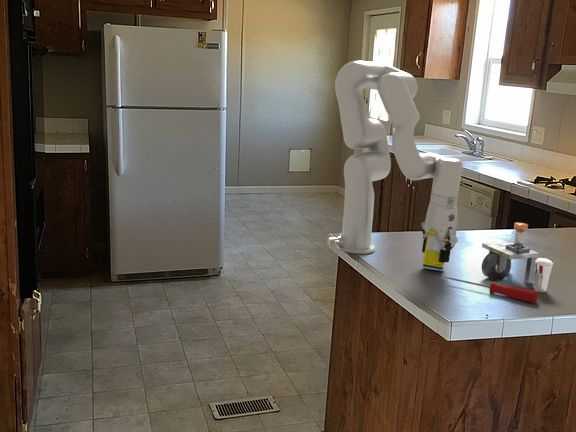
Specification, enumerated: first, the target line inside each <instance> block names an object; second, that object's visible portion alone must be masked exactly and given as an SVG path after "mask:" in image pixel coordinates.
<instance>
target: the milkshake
mask: <svg viewBox="0 0 576 432" xmlns="http://www.w3.org/2000/svg"><path fill="white" fill-rule="evenodd" d="M555 262H556V260H554V261H553V262H552V260H550V259H548V258H546V257H545V258H543V257H537V258H536V261H535V269H534V276H533V286H532V288H533V289H532V290H536V291H537V292H538V293H539V292H540V293H545V292H547V289H548V285H549V284H548V283H549V281H550V275H551V273H552V269H553V266H554V263H555Z"/></svg>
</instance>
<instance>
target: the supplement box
mask: <svg viewBox="0 0 576 432" xmlns="http://www.w3.org/2000/svg"><path fill="white" fill-rule="evenodd" d="M444 239H448V234H447V235H446V237H444ZM446 244H447V241H445V245H446ZM440 249H442V246H441V241H440V240H438V239H437V236H436V233H435V232H434V231H432V230H430V229H429V230H428V233H427V240H426V247H425V253H424V254H423V255H424V256H423V262H422V267H423V268H431V269H437V270H444V267H445V263H440V262H439V255H440Z"/></svg>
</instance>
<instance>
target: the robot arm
mask: <svg viewBox="0 0 576 432" xmlns="http://www.w3.org/2000/svg"><path fill="white" fill-rule="evenodd" d="M334 88H335V89H334V90H335V95H336V99H337V103H338V107H339V108H338V109H339V116H340V122H341V123H340V124H341V129H342V136H343V141H344V143H345V145H346V147H348V148H350V149H352V150H363V152H359V153H354V154H352V155H350V156H349V157H348V158H347V159H346V161H345V163H344V166H343V177H344V178H343V179H344V186H345V187H344V199H343V200H344V203H343V204H344V205H343V215H342V217H343V218H342V231H341V233H339V235H338V236H336V237H328V238H327V242H328V244H330V245H331V244H334V245H336V249H338V251H341V252H344V253H347V254H355V255H367V254H371V253H374V252H375V249H376V247H375V245H374V244H373V243H371V242H372V230H373V219H374V206H375V191H374V186H373V182H376V181H380V180H382V179H385V178H386V177H388V175H389V174H390V171H391V167H392V166H391V165H392V160H391V154H390V146H389V140H388V133H387V131H386V128H385V126H384V124H383V123H382V122H381V121H380V120H378V119H376V118H369V116H368V115H369V114H368V111H367V103H366V101H365V99H364V97H363V94H362V93H361V90H376V91H377V93H378V95H379V98H380V100H381V103H382V104H383V107H384V109H385V111H386V114H387V117H388V119H389V122H390V124H391V126H392V133H391V134H392V135H391V136H392V137H391V140H392V141H391V142H392V143H391V145H392V153H393V154H394V158H395V160H396V163H397V165H398V167H399V169H400V171H401V173H402V174H403V175H404V177H406V178H407V179H408V180H411V181H420V180H424V179H433V180H432V185H431V194H430V200H429V204H428V207H427V211H426V215H425V220H424V221H423V222H421V228H422V231H421V233H422V234H423V235H422V239H423V241H422V242H423V243H422V248H421V252H422V253H424V254H425V247H426V240H427V233H428V230H429V229H430V230H432V231H434V232H435V233H436V236H437V239H438V240H440V241H441V246H442V249H440V255H439V262H440V263H444V264H445V263H449V261H450V256H451V251H452V250H453V248H454V247H455V245H456V244H457V243H458V242H459V241H458V237H457V228H458V207H457V203H458V199H459V198H458V197H459V191H460V185H461V180H462V178H461V177H462V173H463V166H464V165H463V161H462V160H460V159H459V158H454V157H448V156H442V155H440V154H437V153H435V152H421V153H420V152H419V150H418V148H417V145H416V142H415V139H414V138H415V137H414V132H415V131H414V130H415V127H416V126H417V124H418V122H419V121H420V117H421V116H420V112H419V111H418V109H417V106H416V104H415V101H414V98H415V96H416V95H417V92H418V88H419V87H418V82H417V80H416V78H415V77H414V76H413V75H412V74H411V73H408V72H405V71H403V70H400V69H398V68H396V67H393V66H391V65H387V64H386V63H382V62H378V61H368V60H353V61H350V62H347V63H346V64H344V65H343V66H342V67H341V68H340V69H339V71H338V72H337V75H336V78H335V84H334ZM447 234H448V239H444V237H446V235H447ZM445 241H447V244H446V245H445Z"/></svg>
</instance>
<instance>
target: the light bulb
mask: <svg viewBox="0 0 576 432" xmlns="http://www.w3.org/2000/svg"><path fill="white" fill-rule="evenodd" d="M528 227H529V224H528V223H525V222H514V225H513V229H514V230H515V232H514V233H515V235H514V240H513V243H514V246H513V247H515V248H517V249H518V248H522V247H523V245H524V239H525V232H527V231H528Z"/></svg>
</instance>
